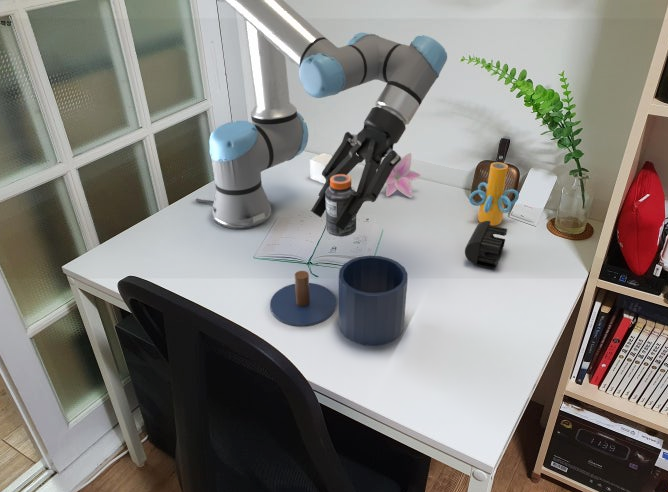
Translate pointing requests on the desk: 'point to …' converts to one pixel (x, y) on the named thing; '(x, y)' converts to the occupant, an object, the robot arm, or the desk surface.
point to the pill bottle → (339, 204)
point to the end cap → (485, 245)
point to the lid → (303, 302)
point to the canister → (372, 300)
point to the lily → (401, 177)
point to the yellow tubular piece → (494, 195)
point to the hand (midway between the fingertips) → (326, 220)
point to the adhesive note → (319, 167)
